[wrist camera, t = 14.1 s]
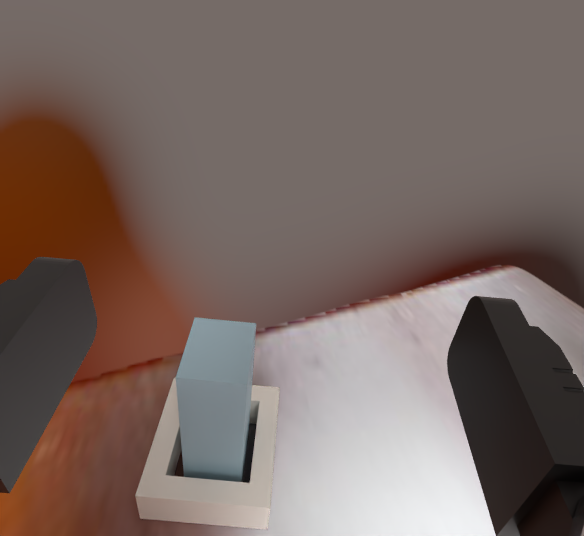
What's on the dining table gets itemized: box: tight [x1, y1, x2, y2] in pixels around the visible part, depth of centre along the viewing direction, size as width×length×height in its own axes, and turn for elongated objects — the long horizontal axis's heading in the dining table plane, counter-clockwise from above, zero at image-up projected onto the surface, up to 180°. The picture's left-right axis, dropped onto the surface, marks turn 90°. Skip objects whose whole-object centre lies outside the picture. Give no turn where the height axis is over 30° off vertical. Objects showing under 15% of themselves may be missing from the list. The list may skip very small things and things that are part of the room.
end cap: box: [135, 378, 280, 530], centre depth 33 cm, size 9×10×3 cm
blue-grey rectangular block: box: [176, 318, 256, 482], centre depth 30 cm, size 4×5×12 cm
